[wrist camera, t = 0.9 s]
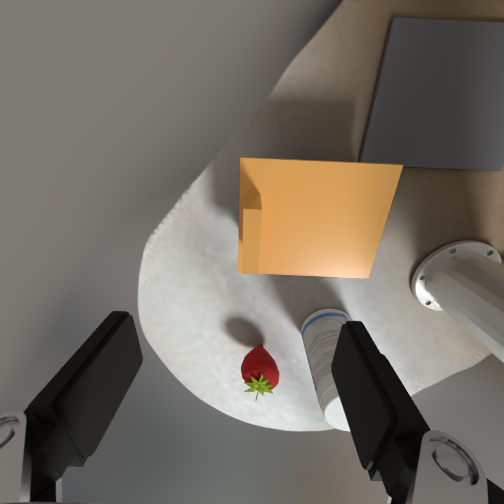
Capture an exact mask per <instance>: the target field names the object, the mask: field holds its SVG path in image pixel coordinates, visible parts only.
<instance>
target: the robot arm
mask: <svg viewBox="0 0 504 504" xmlns="http://www.w3.org/2000/svg"><path fill="white" fill-rule="evenodd" d="M412 292H413V295H414V296H415V298H416V299H417V300H418V301H419V302H420V303H421V304H422V305H423V306H425V307H427V308H429V309H433V310H437V311H445V312H446V313H447V314H448V315H450V316H451V317H452V318H453V319H454V320H455V321H456V322H458V323H459V324H460V325H461V326H462V327H463V328H464V329H466V330H467V331H468V332H469V333H470V334H471V335H472V336H474V337H475V338H476V339H477V340H478V341H479V342H480V343H481V344H483V345H484V346H485V347H486V348H487V349H488V350H489V351H491V352H492V353H493V354H494V355H495V356H496V357H497V358H499V359H500V360H501V361H502V362H503V363H504V265H502V260H501V257H500V254H499V253H498V252H497V251H496V249H494V248H493V247H491V246H490V245H487V244H485V243H483V242H479V241H474V240H464V241H457V242H454V243H450V244H448V245H445V246H443V247H441V248H439V249H437V250H436V251H434V252H433V253H431V254H430V255H429V256H428V257H426V258H425V259H424V260H423V261H422V262H421V264H420V265H419V266H418V268H417V269H416V271H415V273H414V275H413V279H412ZM142 360H143V356H142V352H141V349H140V344H139V340H138V336H137V332H136V328H135V324H134V320H133V317H132V316H131V315H129V313H128V312H126V311H113V312H111V313H110V314H109V315H108V317H107V318H106V319H105V320H104V321H103V322H102V323H101V324H100V326H99V327H98V328H97V329H96V330H95V331H94V332H93V333H92V335H91V336H90V337H89V338H88V339H87V340H86V341H85V342H84V344H83V345H82V346H81V347H80V348H79V349H78V350H77V352H75V354H74V355H73V356H72V357H71V358H70V359H69V360H68V361H67V363H66V364H65V365H64V366H63V367H62V368H61V369H60V370H59V372H58V373H57V374H56V375H55V376H54V377H53V378H52V380H51V381H50V382H49V383H48V384H47V385H46V386H45V387H44V388H43V390H42V391H41V392H40V393H39V394H38V395H37V396H36V397H35V399H34V400H33V401H32V402H31V403H30V404H29V406H28V408H27V409H26V410H25V411H24V412H20V411H11V412H6V413H4V414H1V415H0V504H93V503H62V480H61V477H62V475H63V473H64V472H65V470H66V468H67V467H68V466H76V467H83V465H84V463H85V461H86V460H87V458H88V456H91V455H92V454H93V453H94V452H95V450H96V449H97V447H98V445H99V443H100V441H101V439H102V438H103V436H104V434H105V432H106V430H107V428H108V426H109V424H110V423H111V421H112V419H113V417H114V415H115V413H116V411H117V409H118V408H119V406H120V404H121V402H122V400H123V398H124V396H125V395H126V393H127V391H128V389H129V387H130V385H131V383H132V382H133V380H134V378H135V376H136V374H137V372H138V370H139V368H140V367H141V364H142ZM331 373H332V376H333V379H334V382H335V385H336V388H337V391H338V395H339V398H340V401H341V404H342V407H343V410H344V413H345V416H346V419H347V422H348V425H349V428H350V432H351V435H352V438H353V440H354V444H355V447H356V450H357V453H358V456H359V459H360V462H361V465H362V467H363V468H364V469H365V470H368V473H369V476H370V479H371V481H383V484H384V486H385V489H386V492H387V494H388V495H389V497H388V502H387V504H504V490H502V489H501V488H500V487H498V486H497V485H495V484H494V483H493V482H491V481H490V480H488V479H487V478H486V476H485V472H484V470H483V468H482V466H481V465H480V463H479V461H478V460H477V459H476V457H475V456H474V455H473V453H472V452H471V451H470V450H469V449H468V448H467V447H466V446H465V445H464V444H462V443H461V442H460V441H458V440H457V439H456V438H454V437H453V436H451V435H449V434H447V433H445V432H441V431H437V430H430V428H429V426H428V425H427V423H426V422H425V420H424V418H423V417H422V415H421V413H420V412H419V410H418V409H417V407H416V405H415V404H414V402H413V400H412V399H411V397H410V395H409V394H408V392H407V390H406V389H405V387H404V385H403V384H402V382H401V380H400V379H399V377H398V376H397V374H396V372H395V371H394V369H393V367H392V366H391V364H390V362H389V361H388V359H387V358H386V357H385V356H384V355H383V354H381V353H380V351H379V350H378V348H377V346H376V345H375V343H374V341H373V340H372V338H371V336H370V334H369V333H368V331H367V329H366V328H365V326H364V324H363V323H362V322H361V321H346V323H345V324H342V326H341V330H340V333H339V337H338V341H337V345H336V349H335V352H334V356H333V360H332V364H331Z"/></svg>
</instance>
